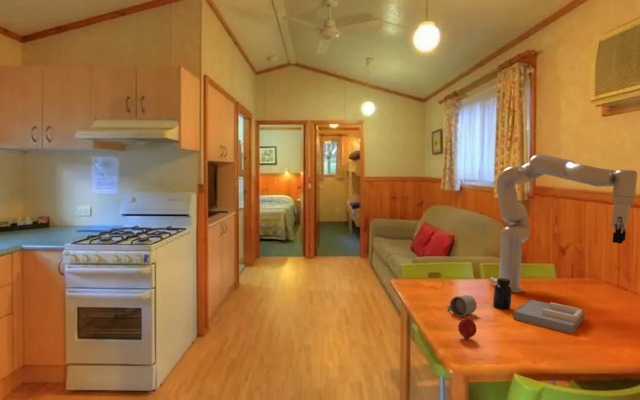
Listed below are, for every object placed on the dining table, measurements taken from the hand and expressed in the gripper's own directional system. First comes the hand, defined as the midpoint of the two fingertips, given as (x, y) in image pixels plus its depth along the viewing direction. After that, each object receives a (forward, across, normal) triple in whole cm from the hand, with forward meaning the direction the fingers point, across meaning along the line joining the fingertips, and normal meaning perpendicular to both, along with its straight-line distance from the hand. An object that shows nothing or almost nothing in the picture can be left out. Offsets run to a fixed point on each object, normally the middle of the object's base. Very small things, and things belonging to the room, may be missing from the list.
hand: (618, 241), depth 171 cm
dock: (+30, +28, -17) cm, 45 cm away
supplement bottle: (+31, +28, -35) cm, 55 cm away
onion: (+31, +72, -33) cm, 85 cm away
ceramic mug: (+31, +49, -45) cm, 73 cm away
